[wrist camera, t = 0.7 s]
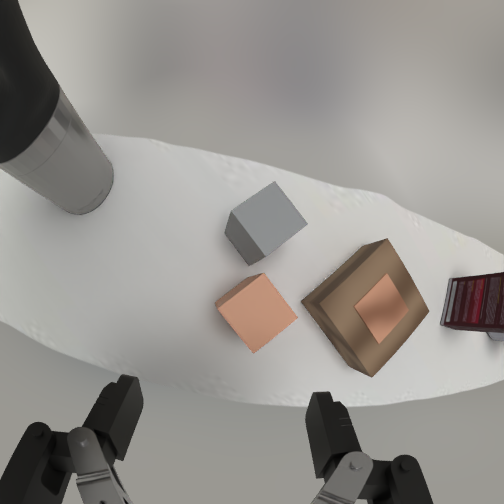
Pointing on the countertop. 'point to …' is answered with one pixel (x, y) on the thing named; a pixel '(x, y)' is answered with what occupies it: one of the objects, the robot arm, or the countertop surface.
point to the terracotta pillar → (256, 311)
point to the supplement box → (475, 303)
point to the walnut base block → (368, 307)
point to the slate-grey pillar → (263, 223)
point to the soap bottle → (496, 336)
